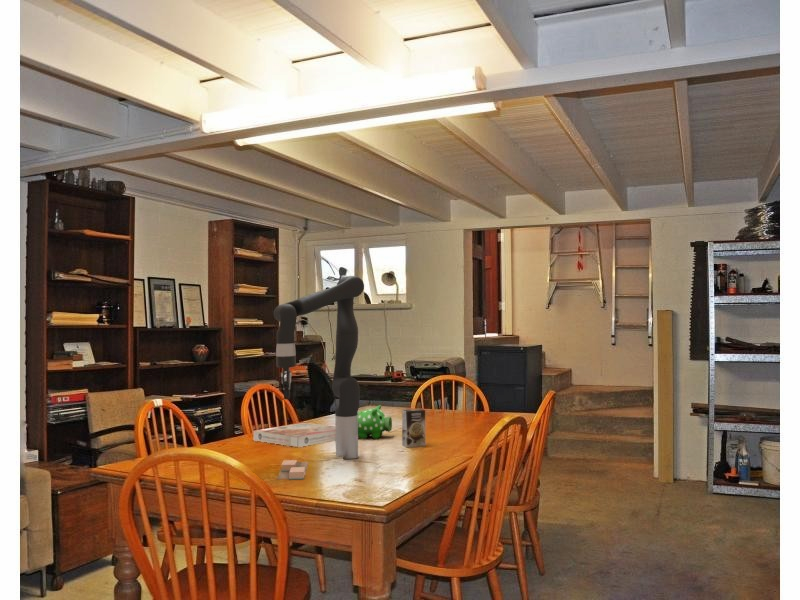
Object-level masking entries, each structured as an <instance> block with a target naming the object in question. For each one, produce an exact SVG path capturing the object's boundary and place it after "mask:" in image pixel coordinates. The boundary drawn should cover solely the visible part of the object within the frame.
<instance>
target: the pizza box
mask: <svg viewBox="0 0 800 600" xmlns="http://www.w3.org/2000/svg"><path fill="white" fill-rule="evenodd" d="M252 431H253V433H252V434H253V435H252V436H253V437H252V439H253V440H254V441H253V442H257V441H261V442H260V443H264V442H267V443H266V444H270V443H275V444H274V445H276V444H281V445H280V446H283V445H287V446H286V447H289V446H294V447H293V448H295V447H301V448H304V447H303V446H306V447H309V446H308V445H311V446H314V445H313V444H316V445H320V444H319V443H321V444H324V443H325V442H326V443H330V442H336V427H335V425H328V424H327V425H326V424H319V423H317V424H316V423H309V422H299V423H294V424H292V423H291V424H287V425H281V426H274V427H269V428H267V427H266V428H263V429H262V428H261V429H256V430H252Z"/></svg>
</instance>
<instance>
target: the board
mask: <svg viewBox="0 0 800 600" xmlns="http://www.w3.org/2000/svg"><path fill="white" fill-rule="evenodd" d="M309 463H310V462H309V461H297V467H305V474H306V472H307V469H308V466H309ZM288 479H289V472H281V470H280V471H279V473H278V475H277V477H276V480H288Z"/></svg>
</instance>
